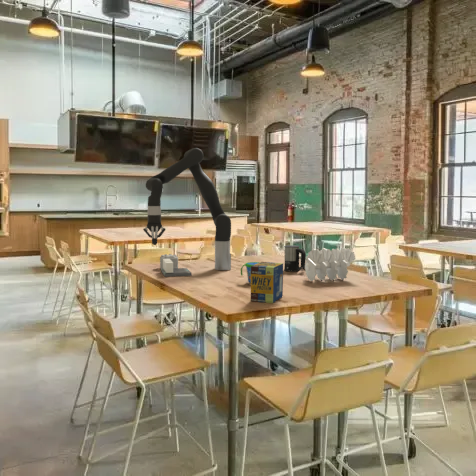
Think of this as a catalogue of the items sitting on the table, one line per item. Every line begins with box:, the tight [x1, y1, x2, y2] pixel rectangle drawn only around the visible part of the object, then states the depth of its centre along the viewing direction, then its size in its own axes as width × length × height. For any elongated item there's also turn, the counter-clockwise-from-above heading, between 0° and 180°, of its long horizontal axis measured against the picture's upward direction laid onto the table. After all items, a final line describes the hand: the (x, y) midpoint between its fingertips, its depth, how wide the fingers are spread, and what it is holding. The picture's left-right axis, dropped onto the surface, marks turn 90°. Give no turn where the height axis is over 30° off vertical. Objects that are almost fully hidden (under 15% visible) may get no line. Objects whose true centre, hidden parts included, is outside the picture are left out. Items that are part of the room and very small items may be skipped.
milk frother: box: [283, 244, 307, 272], centre depth 316 cm, size 14×16×15 cm
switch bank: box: [160, 267, 192, 278], centre depth 302 cm, size 15×19×2 cm
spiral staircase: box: [304, 247, 356, 282], centre depth 280 cm, size 18×18×25 cm
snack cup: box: [240, 261, 260, 284], centre depth 273 cm, size 16×10×10 cm
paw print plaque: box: [159, 253, 179, 270], centre depth 321 cm, size 10×13×9 cm
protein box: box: [250, 261, 284, 304], centre depth 233 cm, size 10×15×16 cm
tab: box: [165, 262, 173, 273], centre depth 294 cm, size 4×4×6 cm
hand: (154, 244), depth 297 cm, fingers closed
